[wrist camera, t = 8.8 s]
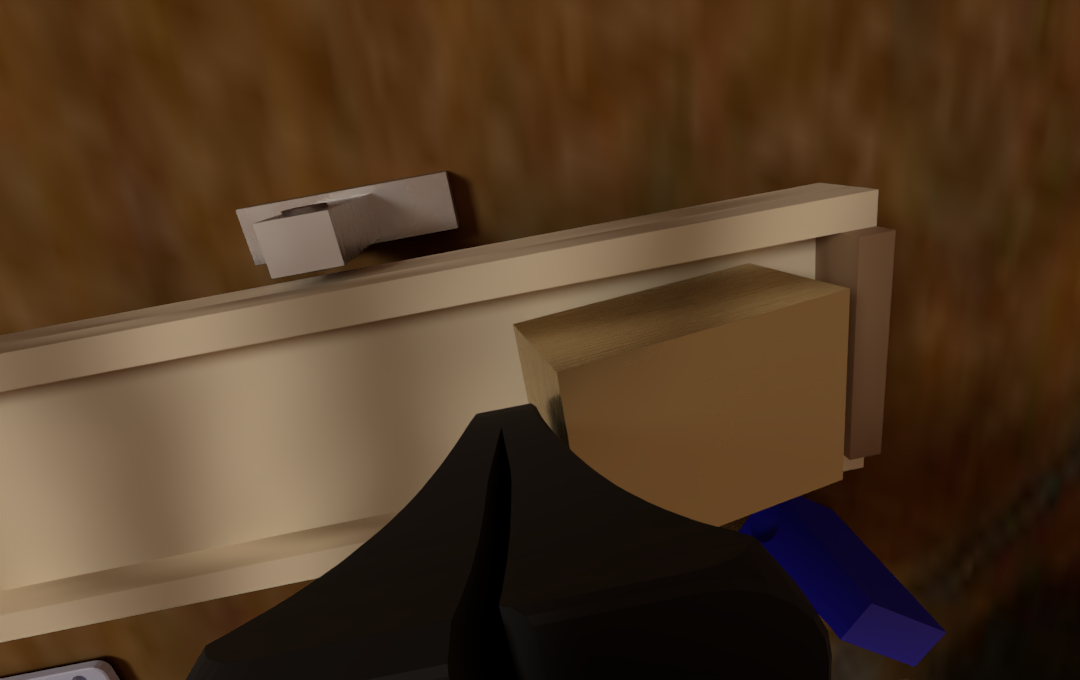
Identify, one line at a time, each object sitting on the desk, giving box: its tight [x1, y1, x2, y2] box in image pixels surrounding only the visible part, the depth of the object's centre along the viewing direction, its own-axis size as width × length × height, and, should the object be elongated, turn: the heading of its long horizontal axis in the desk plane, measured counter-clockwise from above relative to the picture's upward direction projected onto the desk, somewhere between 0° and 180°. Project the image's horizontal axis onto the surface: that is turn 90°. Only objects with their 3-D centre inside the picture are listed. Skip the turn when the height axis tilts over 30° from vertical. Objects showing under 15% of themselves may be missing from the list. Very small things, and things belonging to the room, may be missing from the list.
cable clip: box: [739, 496, 947, 667], centre depth 20 cm, size 12×4×6 cm, turn 153°
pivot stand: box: [236, 171, 460, 279], centre depth 15 cm, size 6×11×5 cm, turn 10°
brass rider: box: [513, 263, 850, 527], centre depth 12 cm, size 6×4×3 cm
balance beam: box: [0, 183, 896, 642], centre depth 13 cm, size 25×7×3 cm, turn 100°
